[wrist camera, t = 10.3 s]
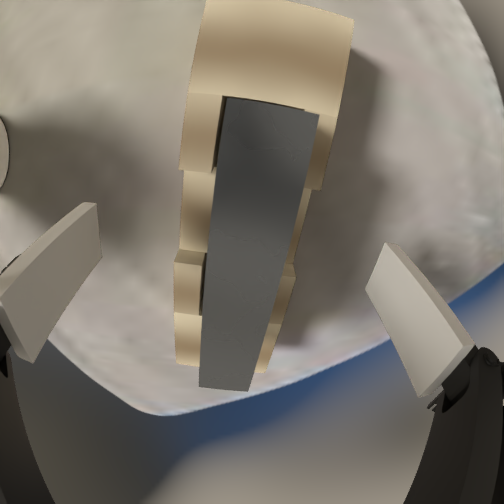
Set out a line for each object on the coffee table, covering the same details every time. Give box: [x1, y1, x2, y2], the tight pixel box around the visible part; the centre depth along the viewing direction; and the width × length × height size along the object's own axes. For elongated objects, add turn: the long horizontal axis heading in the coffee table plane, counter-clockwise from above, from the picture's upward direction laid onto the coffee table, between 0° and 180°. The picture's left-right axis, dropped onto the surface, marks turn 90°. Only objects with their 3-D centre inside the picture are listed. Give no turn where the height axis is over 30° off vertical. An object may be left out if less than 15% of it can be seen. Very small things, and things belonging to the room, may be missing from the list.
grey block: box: [199, 98, 320, 392], centre depth 13 cm, size 13×3×8 cm, turn 171°
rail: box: [174, 0, 354, 373], centre depth 16 cm, size 24×7×4 cm, turn 171°
